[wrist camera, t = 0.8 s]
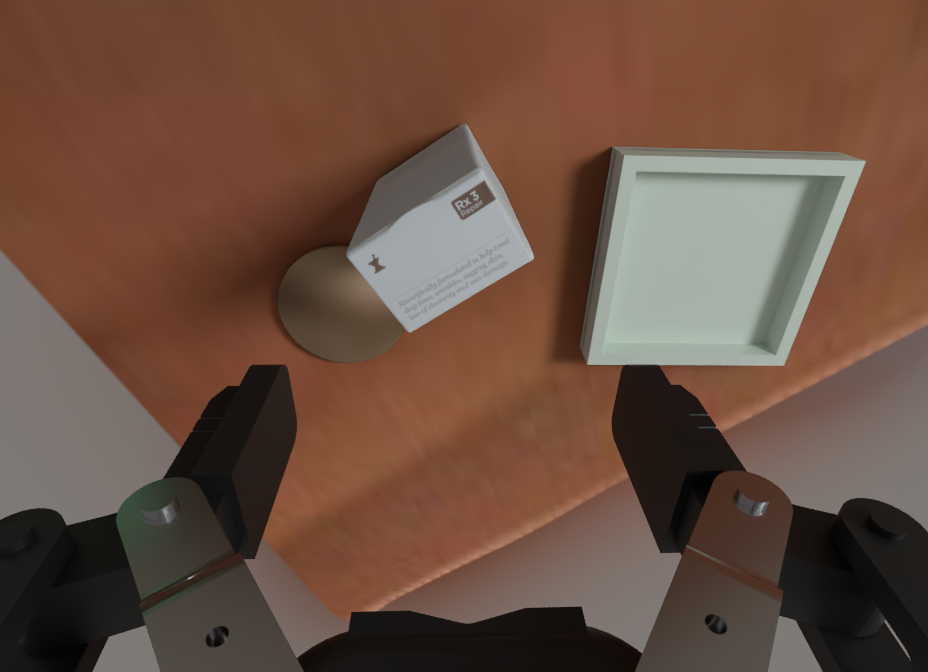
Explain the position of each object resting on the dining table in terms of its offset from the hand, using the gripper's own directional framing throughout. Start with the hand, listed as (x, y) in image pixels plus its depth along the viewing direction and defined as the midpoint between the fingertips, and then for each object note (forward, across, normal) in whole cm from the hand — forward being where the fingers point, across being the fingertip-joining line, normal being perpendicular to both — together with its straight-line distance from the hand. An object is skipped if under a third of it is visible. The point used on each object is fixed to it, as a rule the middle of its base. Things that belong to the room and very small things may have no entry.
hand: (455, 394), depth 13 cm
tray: (+20, -16, +5) cm, 26 cm away
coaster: (+20, +6, +8) cm, 22 cm away
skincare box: (+20, 0, 0) cm, 20 cm away
